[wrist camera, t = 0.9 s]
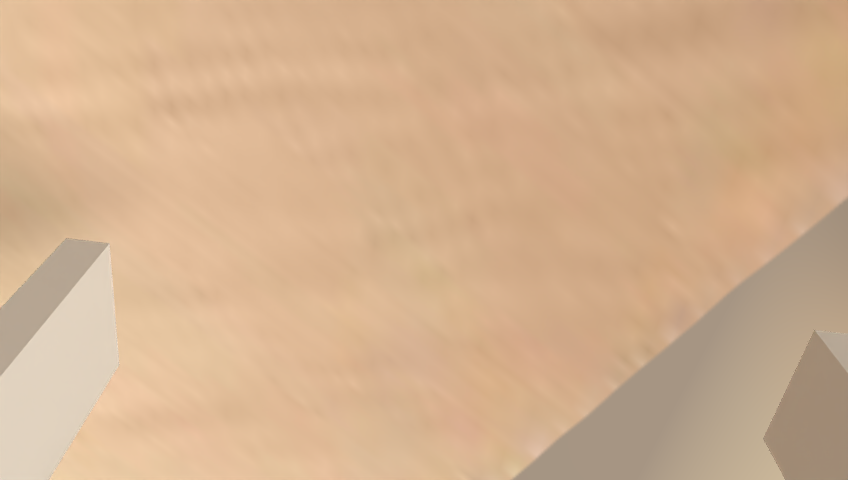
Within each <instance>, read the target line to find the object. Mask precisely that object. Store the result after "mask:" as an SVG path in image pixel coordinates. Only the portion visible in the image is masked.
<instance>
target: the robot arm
mask: <svg viewBox="0 0 848 480" xmlns="http://www.w3.org/2000/svg"><path fill="white" fill-rule="evenodd" d="M118 366H119V355H118V343H117V330H116V318H115V306H114V293H113V281H112V268H111V256H110V243H102V242H93V241H85V240H77V239H69V238H66V239H65V240H64V241H63V242H62V243H61V244H60V245H59V246H58V248H57V249H56V250H55V251H54V252H53V253H52V254H51V255H50V256H49V257H48V258H47V259H46V260H45V261H44V262H43V264H42V265H41V266H40V267H39V268H38V269H37V270H36V271H35V272H34V273H33V274H32V275H31V276H30V277H29V278H28V279H27V281H26V282H25V283H24V284H23V285H22V286H21V287H20V288H19V289H18V290H17V291H16V292H15V293H14V294H13V295H12V297H11V298H10V299H9V300H8V301H7V302H6V303H5V304H4V305H3V306H2V307H1V308H0V480H49V479H50V477H51V476H52V474H53V473H54V471H55V469H56V468H57V466H58V464H59V463H60V461H61V459H62V458H63V456H64V454H65V453H66V451H67V450H68V448H69V446H70V445H71V443H72V441H73V440H74V438H75V436H76V435H77V433H78V432H79V430H80V428H81V427H82V425H83V423H84V422H85V420H86V418H87V417H88V415H89V414H90V412H91V410H92V409H93V407H94V405H95V404H96V402H97V400H98V399H99V397H100V395H101V394H102V392H103V391H104V389H105V387H106V386H107V384H108V382H109V381H110V379H111V377H112V376H113V374H114V373H115V371H116V369H117V368H118ZM764 441H765V443H766V445H767V447H768V448H769V450H770V452H771V454H772V456H773V457H774V459H775V461H776V463H777V465H778V467H779V469H780V470H781V472H782V474H783V476H784V478H785V480H848V334H843V333H835V332H826V331H819V330H814V332H813V334H812V336H811V338H810V340H809V343H808V345H807V347H806V349H805V351H804V353H803V355H802V358H801V360H800V362H799V364H798V366H797V368H796V370H795V372H794V374H793V377H792V379H791V381H790V383H789V385H788V387H787V389H786V392H785V394H784V396H783V398H782V400H781V402H780V404H779V406H778V409H777V411H776V413H775V415H774V417H773V419H772V421H771V423H770V425H769V428H768V430H767V432H766V434H765V436H764Z"/></svg>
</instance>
